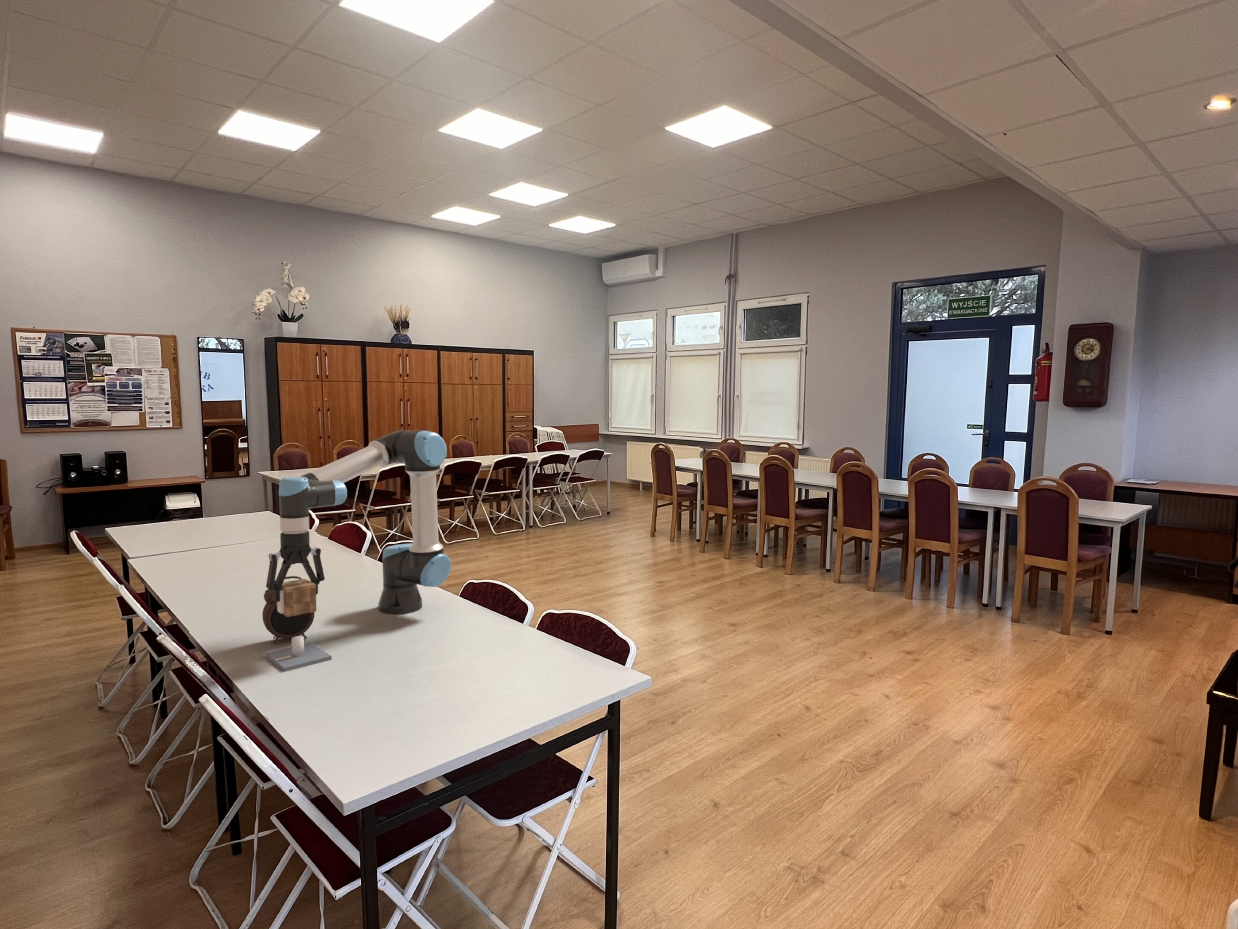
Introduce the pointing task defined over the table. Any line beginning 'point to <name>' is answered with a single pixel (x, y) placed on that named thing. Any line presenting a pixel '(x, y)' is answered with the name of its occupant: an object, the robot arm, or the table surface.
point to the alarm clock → (284, 619)
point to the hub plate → (298, 661)
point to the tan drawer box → (299, 597)
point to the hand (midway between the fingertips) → (296, 609)
